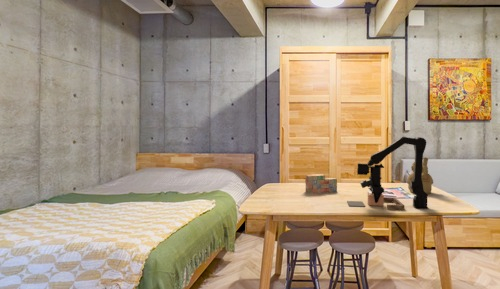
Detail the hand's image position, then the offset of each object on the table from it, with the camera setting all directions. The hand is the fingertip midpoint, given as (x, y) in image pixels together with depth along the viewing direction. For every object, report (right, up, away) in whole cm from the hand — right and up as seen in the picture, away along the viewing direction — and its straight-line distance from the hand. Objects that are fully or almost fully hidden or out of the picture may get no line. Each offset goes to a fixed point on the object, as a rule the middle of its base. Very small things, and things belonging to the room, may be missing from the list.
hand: (375, 201), depth 202 cm
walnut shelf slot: (+9, -2, -1) cm, 9 cm away
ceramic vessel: (+44, 0, +35) cm, 56 cm away
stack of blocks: (-23, 0, +42) cm, 48 cm away
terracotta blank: (0, -2, 0) cm, 2 cm away
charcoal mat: (-11, -2, +2) cm, 11 cm away
